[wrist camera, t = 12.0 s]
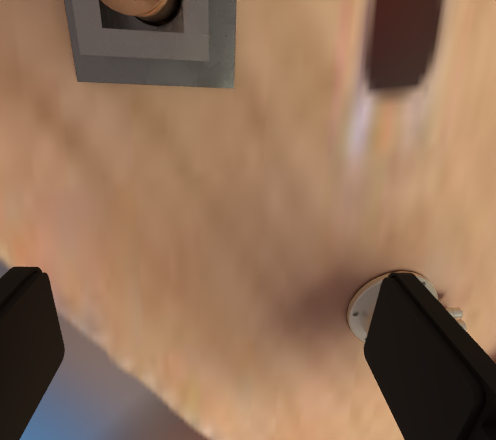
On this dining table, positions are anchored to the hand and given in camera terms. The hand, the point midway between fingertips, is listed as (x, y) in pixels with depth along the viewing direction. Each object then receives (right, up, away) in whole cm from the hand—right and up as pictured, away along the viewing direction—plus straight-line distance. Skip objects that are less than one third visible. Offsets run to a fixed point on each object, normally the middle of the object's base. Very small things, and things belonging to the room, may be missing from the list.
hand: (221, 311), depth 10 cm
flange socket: (-7, +22, +19) cm, 30 cm away
